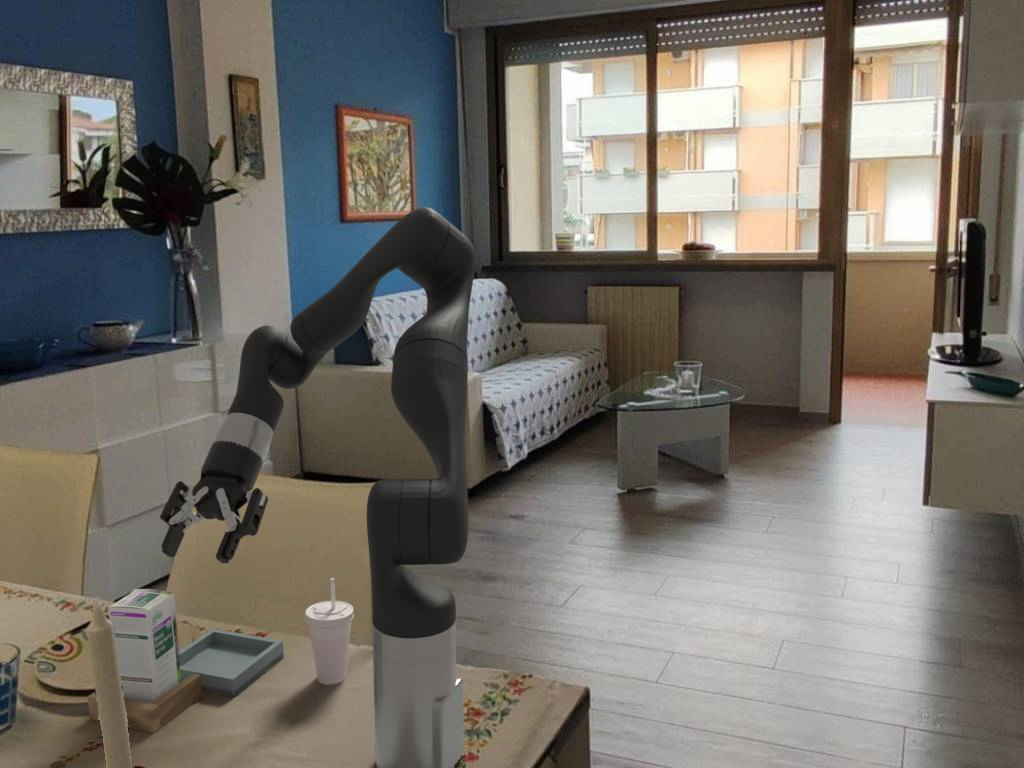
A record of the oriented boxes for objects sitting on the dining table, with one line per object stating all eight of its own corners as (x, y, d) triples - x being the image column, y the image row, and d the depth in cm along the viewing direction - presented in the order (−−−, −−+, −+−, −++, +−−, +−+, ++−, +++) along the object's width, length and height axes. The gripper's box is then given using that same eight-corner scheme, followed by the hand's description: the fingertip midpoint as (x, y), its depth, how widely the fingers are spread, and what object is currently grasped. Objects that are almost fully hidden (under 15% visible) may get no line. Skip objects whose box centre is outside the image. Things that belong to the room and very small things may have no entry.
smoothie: (360, 684, 128) (357, 584, 125) (311, 693, 125) (307, 591, 123) (350, 663, 134) (347, 567, 131) (303, 671, 131) (299, 573, 129)
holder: (201, 696, 125) (200, 675, 124) (153, 733, 116) (152, 710, 116) (140, 684, 128) (139, 663, 127) (89, 719, 119) (87, 696, 119)
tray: (283, 657, 135) (282, 640, 135) (234, 697, 124) (232, 679, 124) (213, 644, 139) (212, 628, 138) (159, 682, 128) (158, 664, 128)
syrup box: (159, 719, 119) (151, 609, 116) (115, 714, 120) (106, 605, 118) (183, 696, 125) (176, 590, 122) (141, 691, 126) (133, 586, 123)
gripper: (293, 469, 138) (252, 575, 129) (209, 461, 142) (164, 564, 134) (269, 442, 132) (225, 551, 123) (182, 435, 136) (134, 540, 128)
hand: (194, 557), depth 129 cm, fingers open, 8 cm apart
